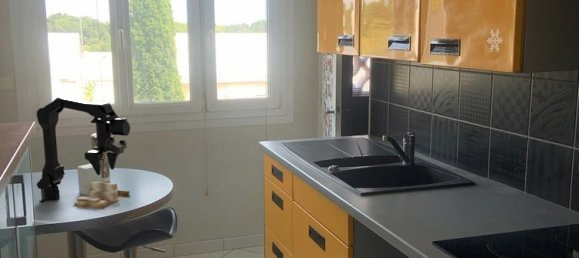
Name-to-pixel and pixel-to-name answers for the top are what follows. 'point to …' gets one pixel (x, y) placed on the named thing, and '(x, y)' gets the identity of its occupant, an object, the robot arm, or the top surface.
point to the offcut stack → (91, 202)
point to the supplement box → (87, 178)
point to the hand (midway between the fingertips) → (105, 172)
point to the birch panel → (104, 190)
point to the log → (104, 164)
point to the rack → (121, 195)
